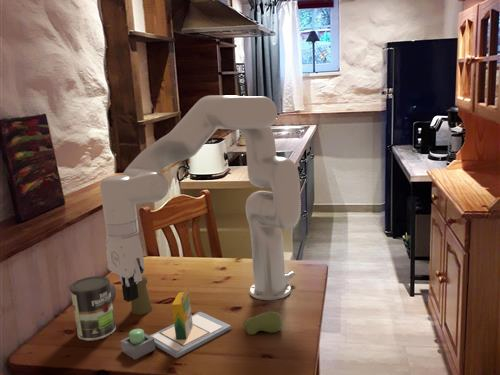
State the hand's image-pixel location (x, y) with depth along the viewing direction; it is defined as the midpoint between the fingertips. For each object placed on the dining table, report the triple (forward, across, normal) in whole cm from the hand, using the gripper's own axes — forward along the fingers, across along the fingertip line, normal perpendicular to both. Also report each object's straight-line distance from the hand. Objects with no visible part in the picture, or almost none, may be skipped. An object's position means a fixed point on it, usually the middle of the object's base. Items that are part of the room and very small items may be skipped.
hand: (131, 299), depth 124 cm
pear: (+14, +18, +27) cm, 35 cm away
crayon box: (+13, +4, +12) cm, 18 cm away
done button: (+13, 0, 0) cm, 13 cm away
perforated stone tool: (+14, -29, +6) cm, 33 cm away
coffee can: (+14, -18, -2) cm, 23 cm away
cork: (+14, -19, +13) cm, 27 cm away
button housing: (+14, 0, 0) cm, 14 cm away
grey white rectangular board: (+14, +4, +13) cm, 20 cm away
